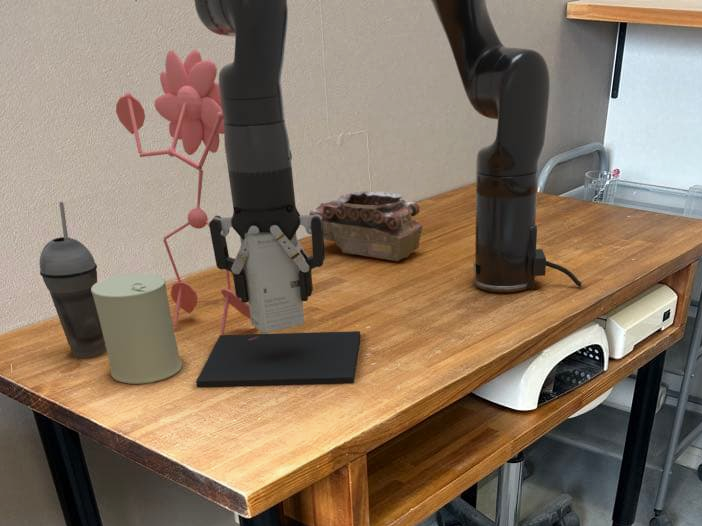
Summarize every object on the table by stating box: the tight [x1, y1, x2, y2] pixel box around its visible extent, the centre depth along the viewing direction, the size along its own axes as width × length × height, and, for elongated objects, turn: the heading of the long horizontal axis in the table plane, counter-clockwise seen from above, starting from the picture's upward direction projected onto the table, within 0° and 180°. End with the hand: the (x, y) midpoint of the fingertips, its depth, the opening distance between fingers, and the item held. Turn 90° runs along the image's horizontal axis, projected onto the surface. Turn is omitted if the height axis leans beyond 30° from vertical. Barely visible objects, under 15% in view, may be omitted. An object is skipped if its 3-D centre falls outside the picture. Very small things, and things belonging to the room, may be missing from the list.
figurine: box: [115, 49, 259, 340], centre depth 119 cm, size 15×26×35 cm, turn 59°
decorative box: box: [309, 190, 424, 262], centre depth 152 cm, size 13×20×10 cm, turn 53°
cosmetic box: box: [239, 232, 305, 334], centre depth 109 cm, size 6×4×12 cm
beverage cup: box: [39, 201, 107, 359], centre depth 114 cm, size 7×7×20 cm
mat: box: [195, 330, 361, 388], centre depth 115 cm, size 20×16×1 cm
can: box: [91, 272, 183, 385], centre depth 111 cm, size 9×9×12 cm
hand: (275, 299), depth 110 cm, fingers closed on cosmetic box, 7 cm apart
